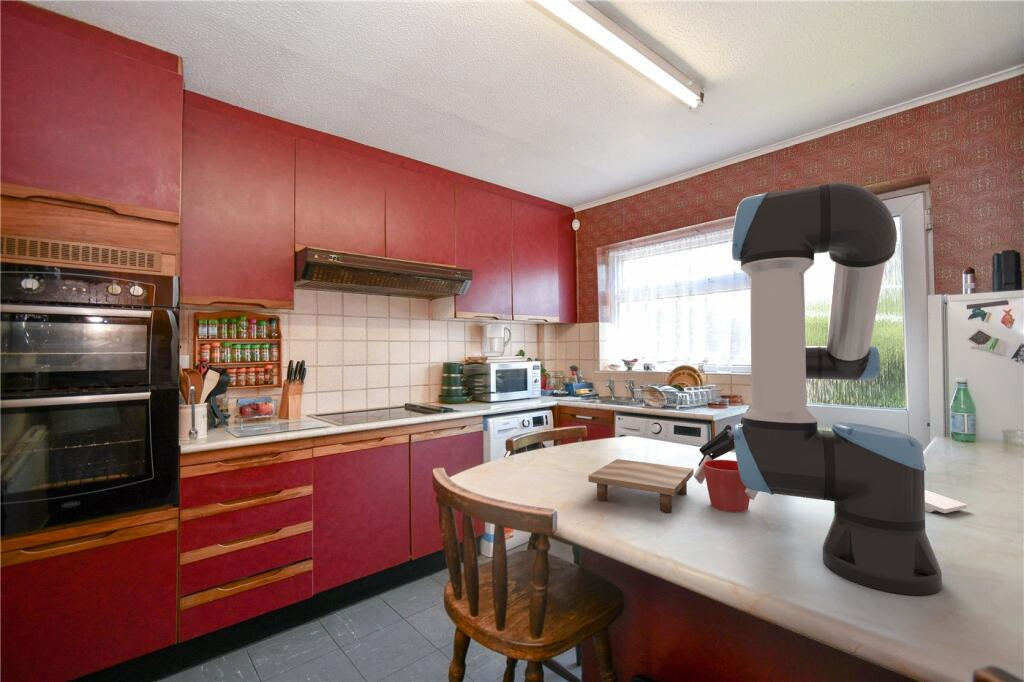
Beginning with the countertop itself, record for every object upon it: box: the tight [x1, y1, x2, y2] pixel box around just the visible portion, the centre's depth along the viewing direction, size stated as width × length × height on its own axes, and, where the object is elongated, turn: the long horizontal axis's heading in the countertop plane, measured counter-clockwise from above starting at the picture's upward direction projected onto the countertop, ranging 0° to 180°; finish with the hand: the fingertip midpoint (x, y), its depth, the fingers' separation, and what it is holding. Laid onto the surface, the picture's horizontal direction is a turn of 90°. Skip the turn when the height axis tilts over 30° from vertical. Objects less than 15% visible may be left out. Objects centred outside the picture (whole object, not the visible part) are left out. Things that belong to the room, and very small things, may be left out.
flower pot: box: [703, 459, 751, 513], centre depth 107 cm, size 11×11×10 cm
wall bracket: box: [925, 489, 968, 514], centre depth 115 cm, size 10×7×28 cm
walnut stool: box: [587, 458, 695, 514], centre depth 114 cm, size 20×20×6 cm
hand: (721, 487), depth 106 cm, fingers open, 13 cm apart
